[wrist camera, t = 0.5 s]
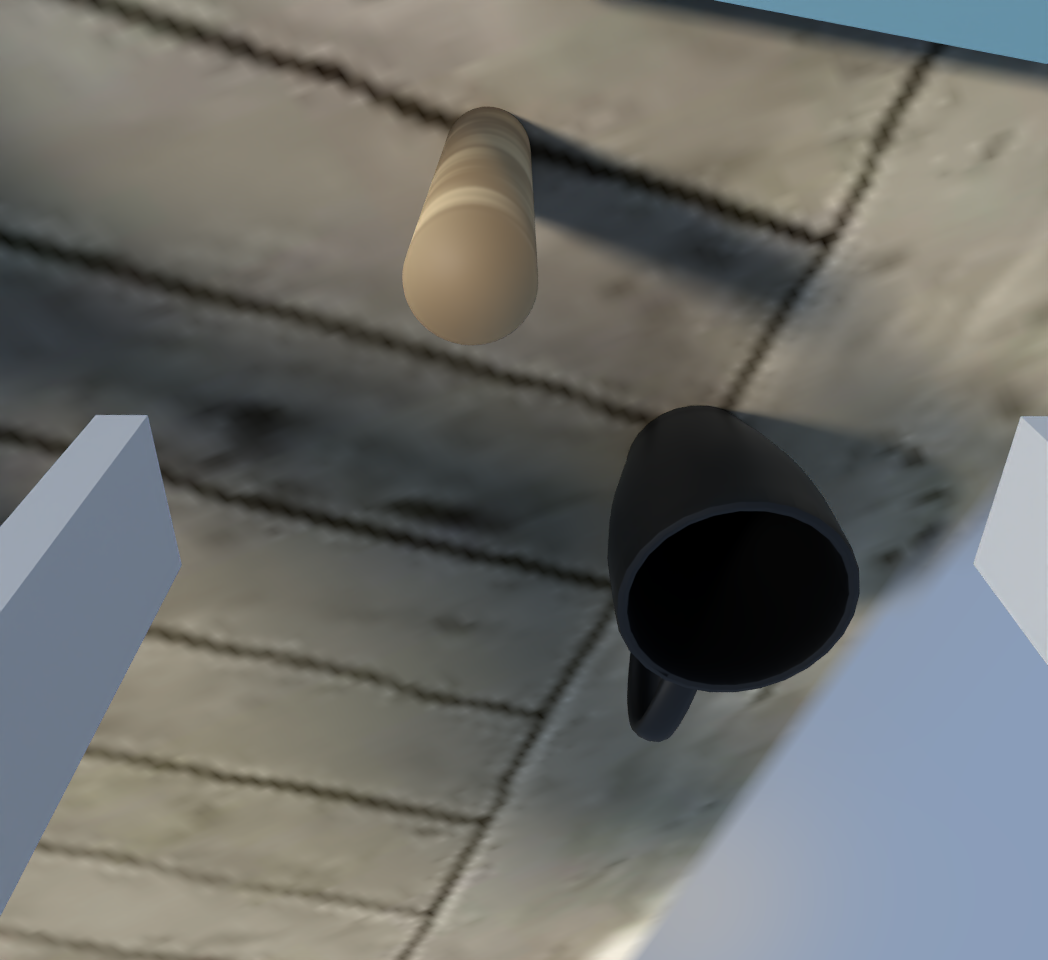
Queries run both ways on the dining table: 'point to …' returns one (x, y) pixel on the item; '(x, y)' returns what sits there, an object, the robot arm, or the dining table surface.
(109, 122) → the dining table surface
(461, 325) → the dowel
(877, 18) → the bore slab
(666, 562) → the mug
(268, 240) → the dining table surface
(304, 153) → the dining table surface
